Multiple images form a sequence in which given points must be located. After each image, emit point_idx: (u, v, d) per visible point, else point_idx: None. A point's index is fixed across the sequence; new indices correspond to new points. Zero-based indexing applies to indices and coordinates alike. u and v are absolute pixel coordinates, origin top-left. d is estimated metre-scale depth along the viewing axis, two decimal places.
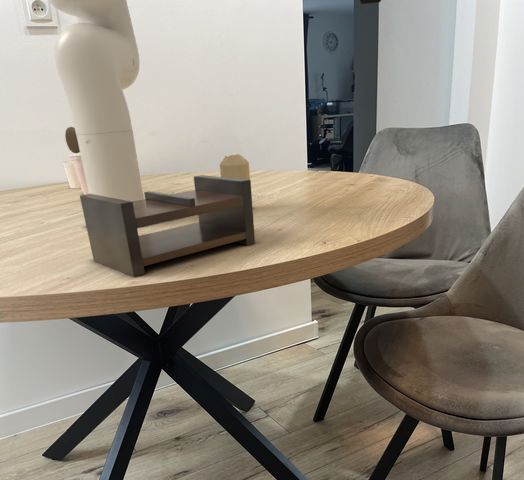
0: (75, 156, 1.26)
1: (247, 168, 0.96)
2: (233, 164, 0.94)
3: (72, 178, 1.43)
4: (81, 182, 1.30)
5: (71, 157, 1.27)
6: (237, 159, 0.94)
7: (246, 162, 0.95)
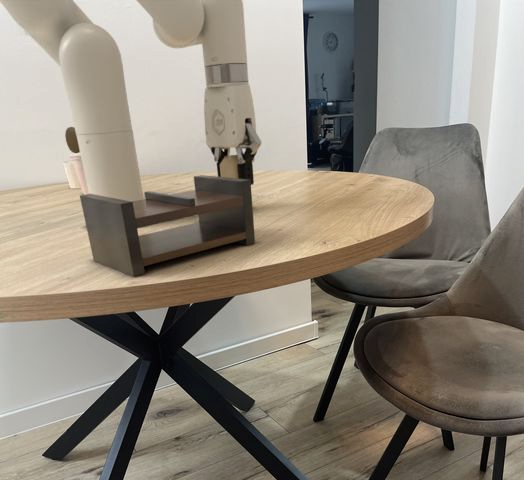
0: (75, 156, 1.26)
1: None
2: (233, 163, 0.94)
3: (72, 178, 1.43)
4: (81, 182, 1.30)
5: (71, 157, 1.27)
6: (237, 159, 0.94)
7: None
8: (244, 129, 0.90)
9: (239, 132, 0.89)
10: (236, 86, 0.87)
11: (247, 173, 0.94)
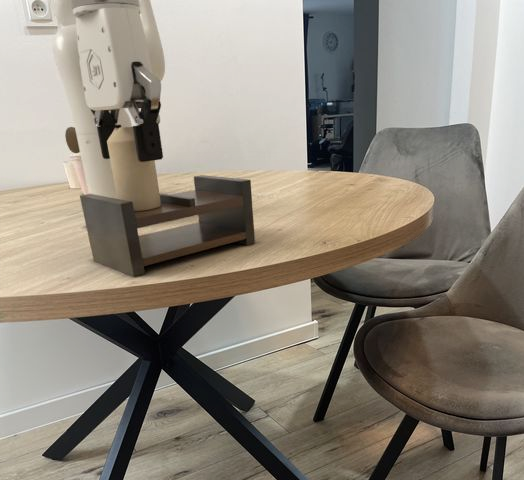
0: (75, 156, 1.26)
1: None
2: (124, 139, 0.62)
3: (72, 178, 1.43)
4: (81, 182, 1.30)
5: (71, 157, 1.27)
6: (130, 132, 0.63)
7: None
8: (131, 79, 0.58)
9: (123, 83, 0.57)
10: (113, 9, 0.55)
11: (149, 141, 0.60)
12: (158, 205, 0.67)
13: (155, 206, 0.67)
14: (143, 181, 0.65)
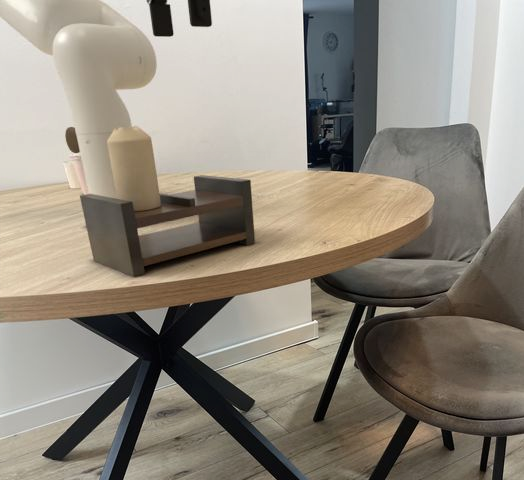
0: (75, 156, 1.26)
1: (147, 146, 0.64)
2: (124, 139, 0.62)
3: (72, 178, 1.43)
4: (81, 182, 1.30)
5: (71, 157, 1.27)
6: (130, 132, 0.63)
7: (145, 137, 0.64)
8: None
9: None
10: None
11: (201, 5, 0.67)
12: (158, 205, 0.67)
13: (155, 206, 0.67)
14: (143, 181, 0.65)
